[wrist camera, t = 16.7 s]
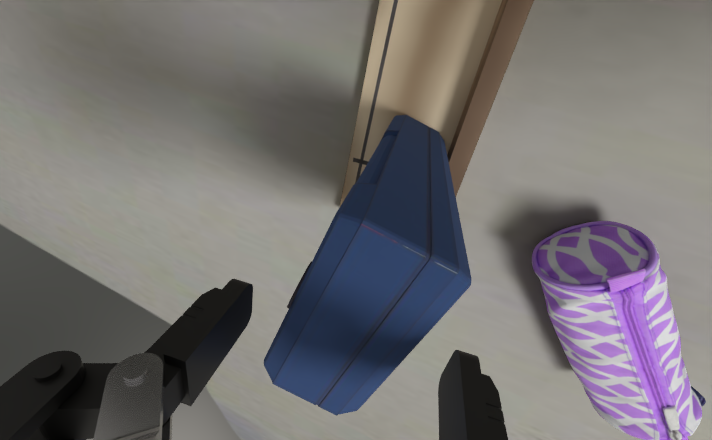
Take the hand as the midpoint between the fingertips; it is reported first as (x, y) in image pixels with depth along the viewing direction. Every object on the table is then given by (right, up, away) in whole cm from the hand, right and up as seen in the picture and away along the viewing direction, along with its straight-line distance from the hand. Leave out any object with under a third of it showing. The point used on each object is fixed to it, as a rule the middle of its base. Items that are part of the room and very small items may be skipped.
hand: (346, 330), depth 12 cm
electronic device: (+4, +9, +17) cm, 20 cm away
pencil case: (+25, -4, +21) cm, 33 cm away
